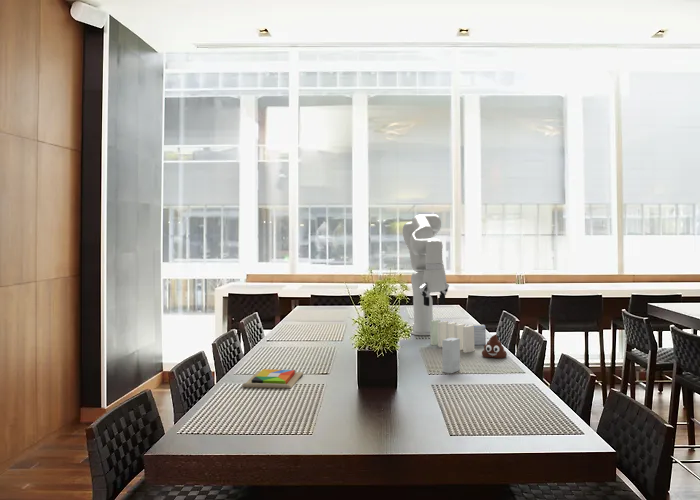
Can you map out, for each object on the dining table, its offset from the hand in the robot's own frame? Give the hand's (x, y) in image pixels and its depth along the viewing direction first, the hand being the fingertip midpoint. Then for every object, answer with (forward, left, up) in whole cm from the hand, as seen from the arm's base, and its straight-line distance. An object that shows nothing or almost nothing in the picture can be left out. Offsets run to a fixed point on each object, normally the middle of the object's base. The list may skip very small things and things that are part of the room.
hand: (434, 304), depth 269 cm
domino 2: (+6, 0, -18) cm, 19 cm away
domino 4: (+16, 0, -18) cm, 24 cm away
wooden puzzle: (+11, -88, -19) cm, 91 cm away
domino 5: (+21, 0, -18) cm, 28 cm away
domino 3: (+11, 0, -18) cm, 21 cm away
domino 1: (0, 0, -18) cm, 18 cm away
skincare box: (+41, -30, -18) cm, 55 cm away
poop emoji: (+35, 0, -19) cm, 40 cm away
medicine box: (+12, +14, -19) cm, 26 cm away
